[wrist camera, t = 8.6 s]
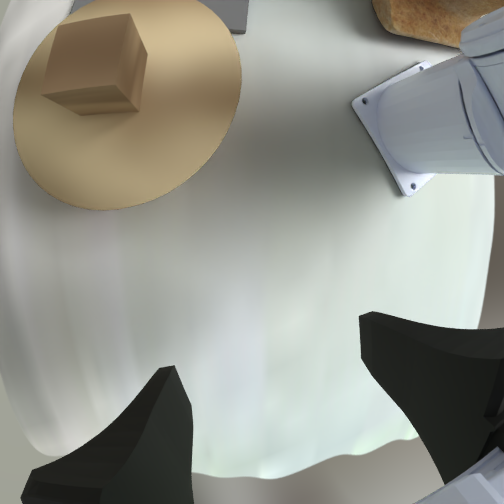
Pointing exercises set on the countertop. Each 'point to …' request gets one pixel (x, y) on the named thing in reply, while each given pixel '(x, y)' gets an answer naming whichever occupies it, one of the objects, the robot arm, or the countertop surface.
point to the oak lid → (126, 101)
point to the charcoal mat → (221, 3)
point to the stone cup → (432, 17)
